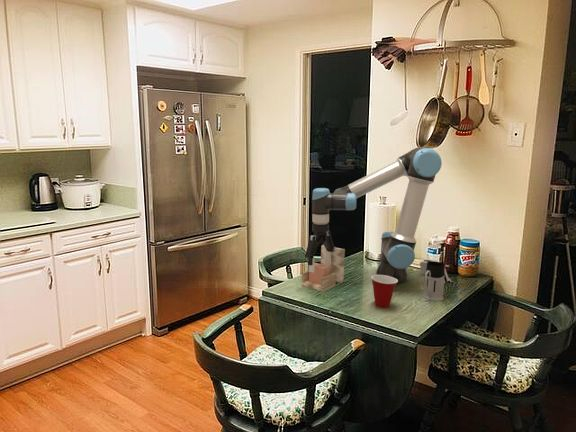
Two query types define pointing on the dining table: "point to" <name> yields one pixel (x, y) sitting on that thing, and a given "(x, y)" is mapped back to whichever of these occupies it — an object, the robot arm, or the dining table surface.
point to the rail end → (318, 273)
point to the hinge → (424, 265)
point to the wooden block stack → (334, 272)
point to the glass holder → (434, 281)
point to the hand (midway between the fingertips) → (319, 268)
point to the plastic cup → (383, 289)
